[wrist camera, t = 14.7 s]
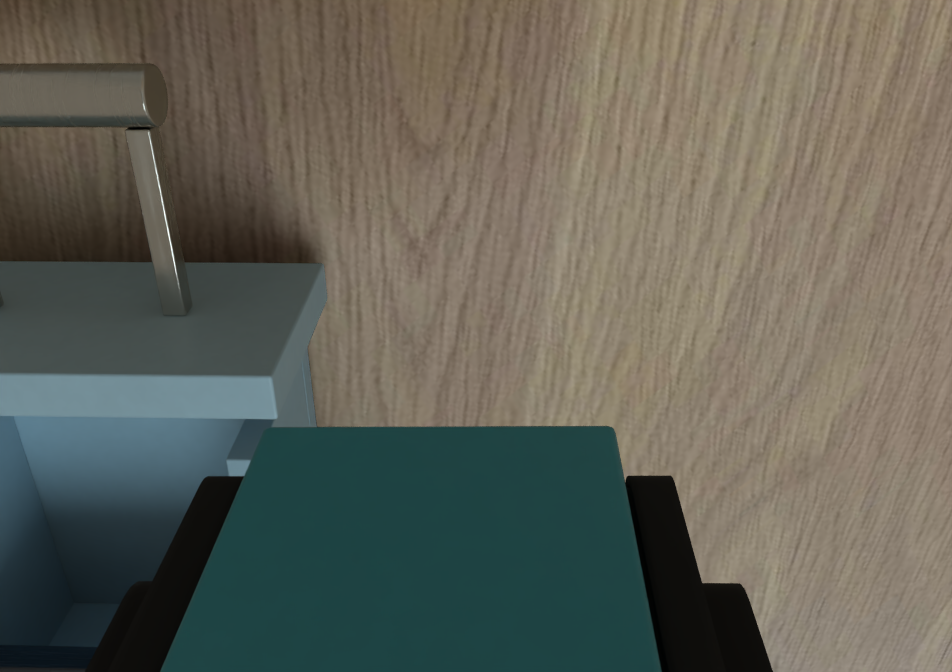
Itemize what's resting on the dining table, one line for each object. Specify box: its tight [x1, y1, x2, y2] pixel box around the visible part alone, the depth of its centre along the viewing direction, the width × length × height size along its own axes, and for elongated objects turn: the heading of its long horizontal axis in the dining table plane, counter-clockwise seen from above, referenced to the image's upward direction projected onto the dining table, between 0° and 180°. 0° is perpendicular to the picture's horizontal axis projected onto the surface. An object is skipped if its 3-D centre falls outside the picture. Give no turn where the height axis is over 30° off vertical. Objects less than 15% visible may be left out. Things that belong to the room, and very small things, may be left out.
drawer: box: [0, 63, 327, 647], centre depth 24 cm, size 20×11×6 cm, turn 0°
